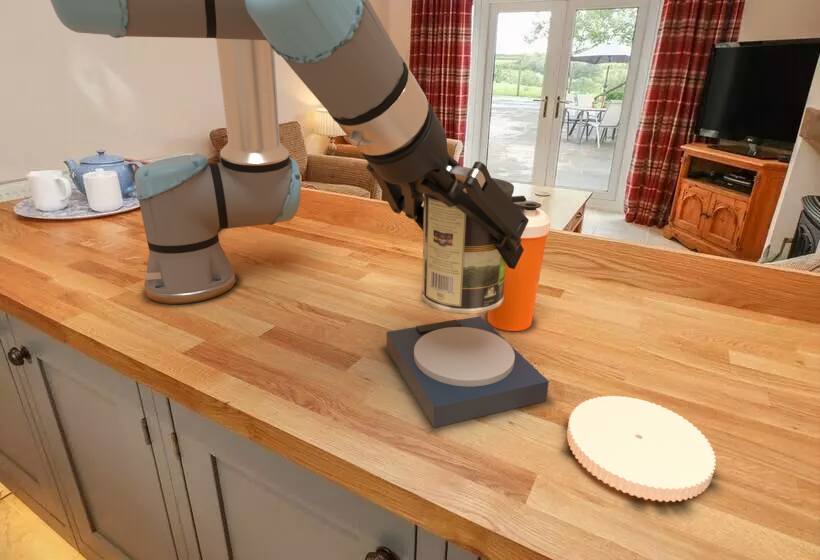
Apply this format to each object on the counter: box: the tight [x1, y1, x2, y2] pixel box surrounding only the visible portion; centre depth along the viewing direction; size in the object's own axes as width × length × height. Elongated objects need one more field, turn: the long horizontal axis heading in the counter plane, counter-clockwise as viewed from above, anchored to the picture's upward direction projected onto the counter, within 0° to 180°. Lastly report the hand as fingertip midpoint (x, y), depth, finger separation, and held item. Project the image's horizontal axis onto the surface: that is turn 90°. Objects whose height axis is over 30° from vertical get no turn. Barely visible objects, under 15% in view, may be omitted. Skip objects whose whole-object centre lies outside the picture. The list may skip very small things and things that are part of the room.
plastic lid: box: [566, 395, 717, 503], centre depth 52 cm, size 14×14×2 cm
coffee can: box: [421, 177, 515, 315], centre depth 59 cm, size 10×10×14 cm
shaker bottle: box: [487, 195, 551, 332], centre depth 76 cm, size 9×9×20 cm
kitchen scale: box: [386, 315, 550, 429], centre depth 65 cm, size 18×15×4 cm
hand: (478, 248), depth 61 cm, fingers closed on coffee can, 10 cm apart
